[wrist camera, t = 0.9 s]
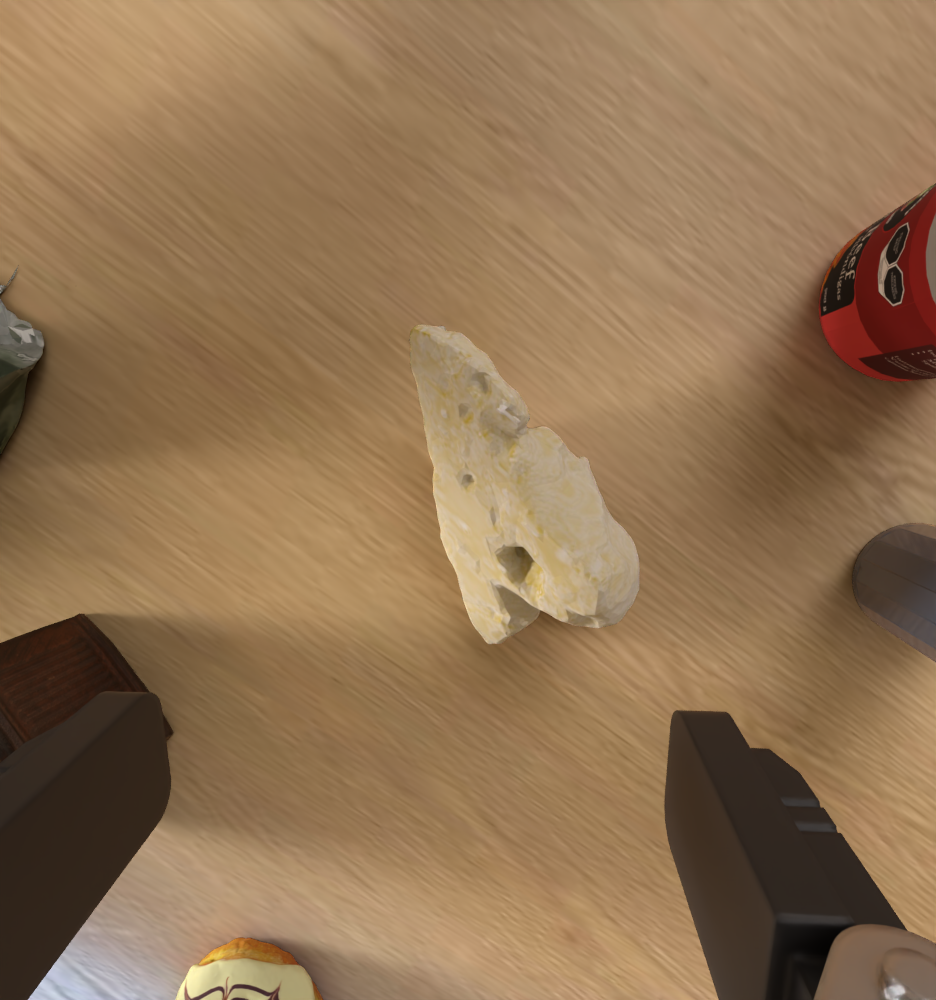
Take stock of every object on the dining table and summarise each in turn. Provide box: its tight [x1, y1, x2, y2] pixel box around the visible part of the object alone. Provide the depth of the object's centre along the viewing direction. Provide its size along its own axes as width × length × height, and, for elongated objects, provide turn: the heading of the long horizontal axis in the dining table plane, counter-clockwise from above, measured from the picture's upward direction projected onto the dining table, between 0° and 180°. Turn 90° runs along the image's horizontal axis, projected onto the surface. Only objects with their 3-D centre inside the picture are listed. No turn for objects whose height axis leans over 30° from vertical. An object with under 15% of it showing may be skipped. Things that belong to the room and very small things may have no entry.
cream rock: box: [409, 324, 640, 644], centre depth 33 cm, size 15×7×15 cm
